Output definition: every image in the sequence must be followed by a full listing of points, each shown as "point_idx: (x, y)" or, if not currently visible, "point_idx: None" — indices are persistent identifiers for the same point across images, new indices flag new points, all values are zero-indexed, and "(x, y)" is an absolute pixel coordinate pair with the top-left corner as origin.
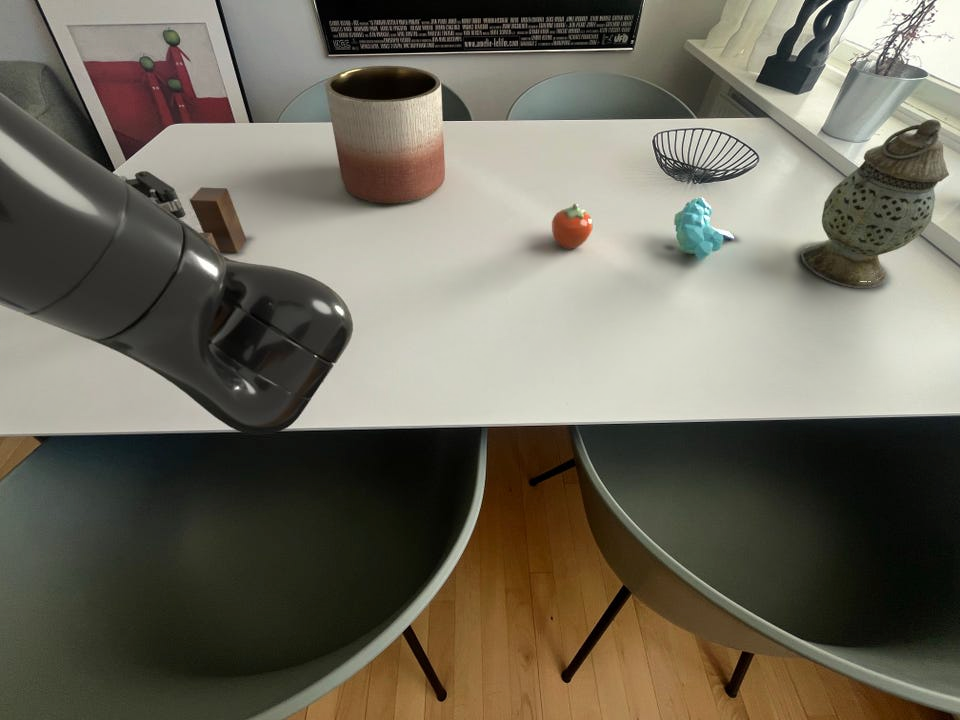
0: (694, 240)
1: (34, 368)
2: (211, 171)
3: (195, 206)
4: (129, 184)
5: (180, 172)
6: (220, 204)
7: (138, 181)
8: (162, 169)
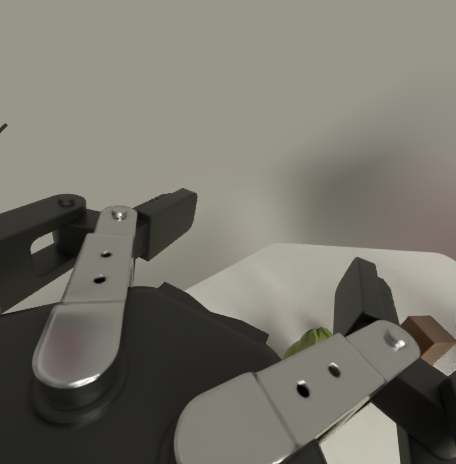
0: None
1: (197, 299)
2: (438, 296)
3: (407, 324)
4: (405, 375)
5: (414, 277)
6: (434, 347)
7: (440, 394)
8: (404, 266)
